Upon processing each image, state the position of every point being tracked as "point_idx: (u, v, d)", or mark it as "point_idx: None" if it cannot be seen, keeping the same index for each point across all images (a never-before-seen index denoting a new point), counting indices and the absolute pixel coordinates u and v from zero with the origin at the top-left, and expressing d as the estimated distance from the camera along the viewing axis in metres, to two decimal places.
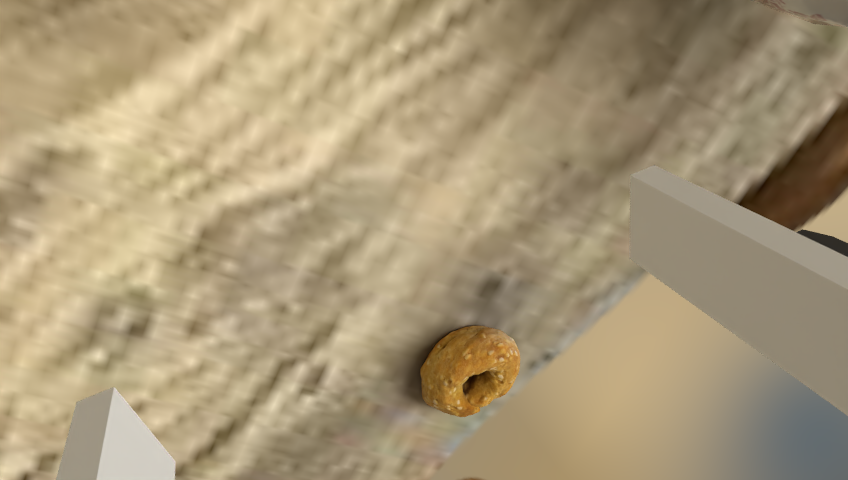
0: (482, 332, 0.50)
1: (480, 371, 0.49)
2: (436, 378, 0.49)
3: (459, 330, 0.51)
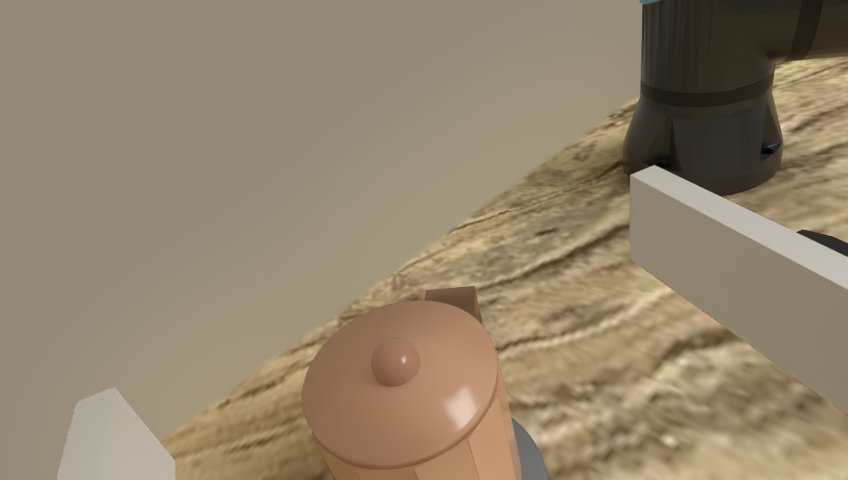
0: None
1: None
2: None
3: None
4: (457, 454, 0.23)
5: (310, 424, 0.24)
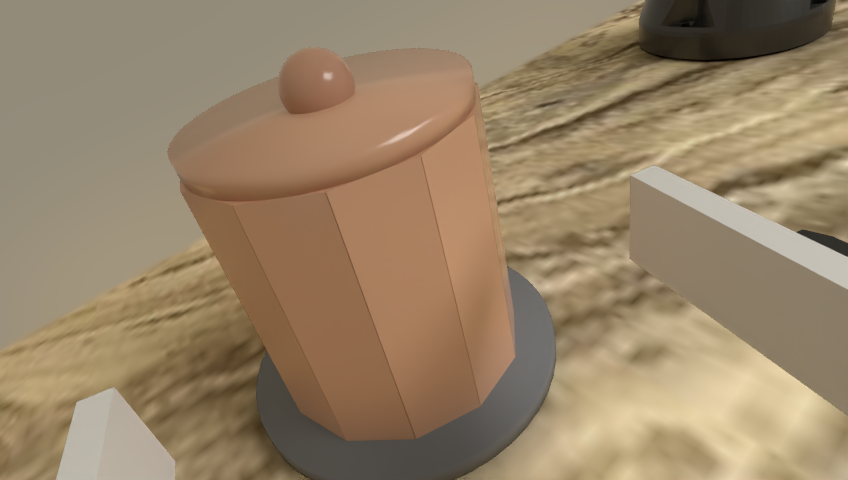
0: None
1: None
2: None
3: None
4: (403, 182, 0.14)
5: (172, 158, 0.15)
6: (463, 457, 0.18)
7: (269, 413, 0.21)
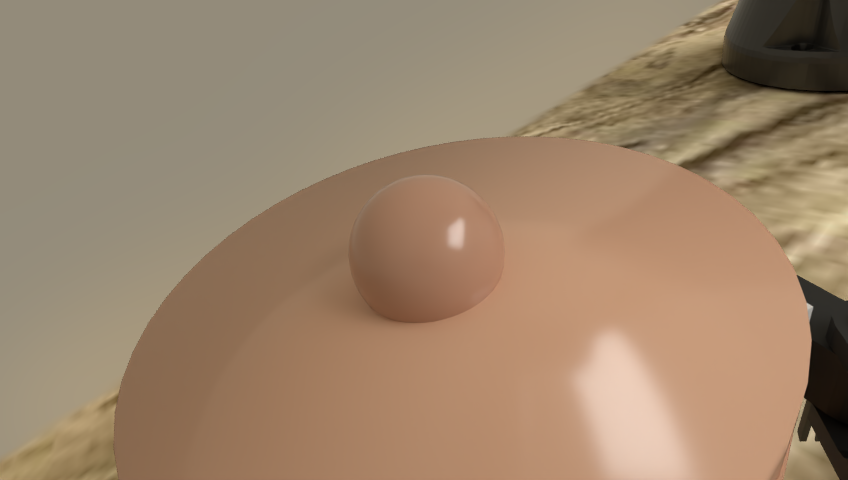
0: None
1: None
2: None
3: None
4: None
5: (120, 453, 0.07)
6: None
7: None
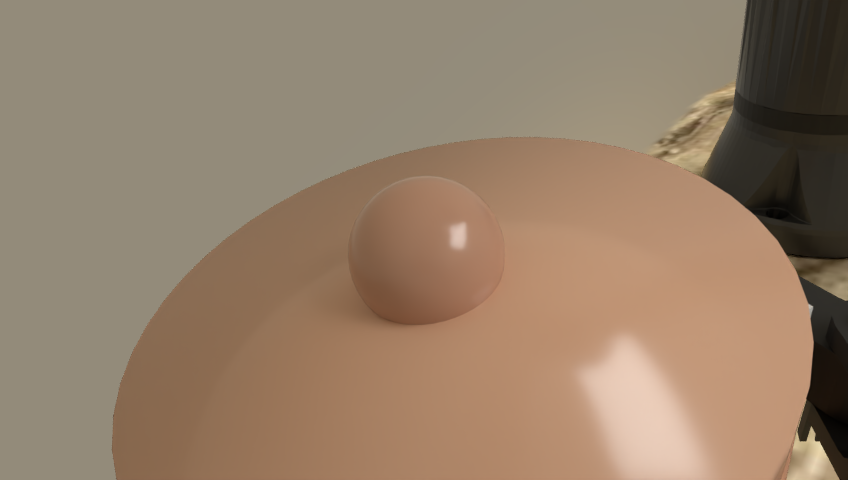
0: None
1: None
2: None
3: None
4: None
5: (118, 456, 0.07)
6: None
7: None
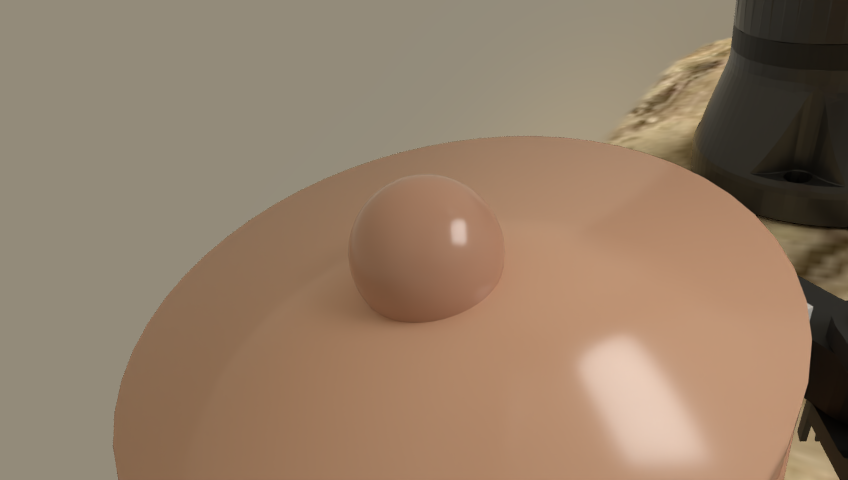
0: None
1: None
2: None
3: None
4: None
5: (119, 453, 0.07)
6: None
7: None
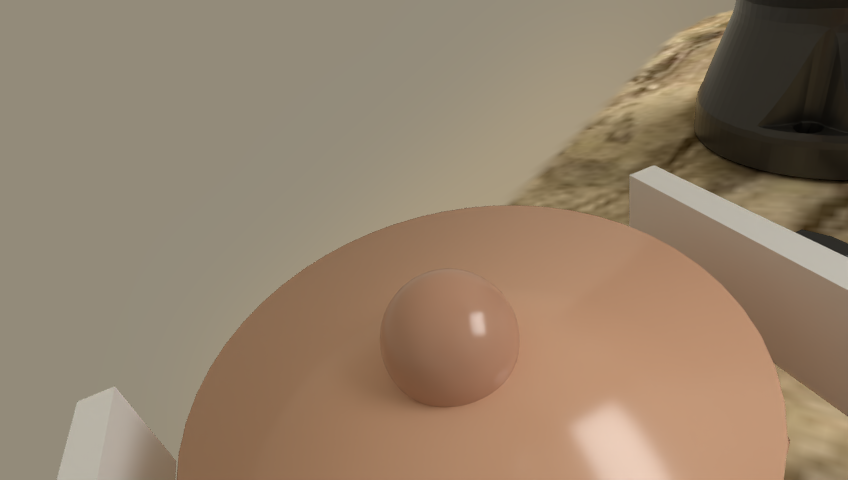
0: None
1: None
2: None
3: None
4: None
5: None
6: None
7: None
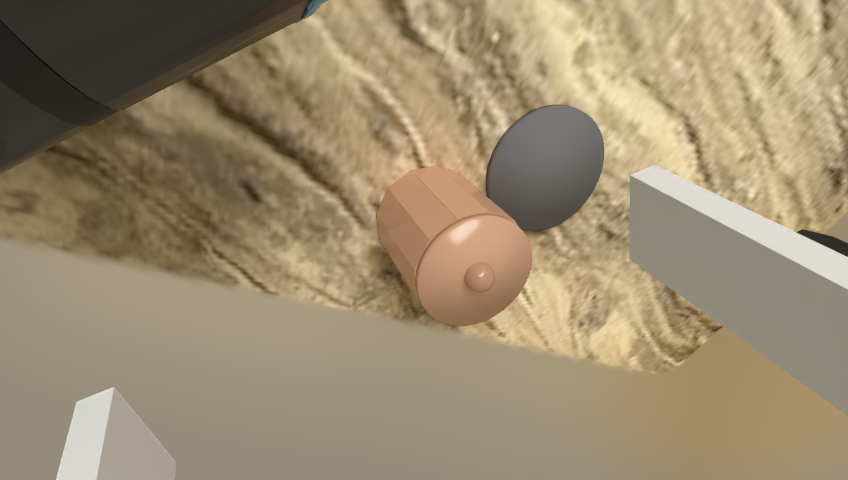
0: None
1: None
2: None
3: None
4: None
5: (510, 302, 0.43)
6: (595, 125, 0.51)
7: (581, 202, 0.55)
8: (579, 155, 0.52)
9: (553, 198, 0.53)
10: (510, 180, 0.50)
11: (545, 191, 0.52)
